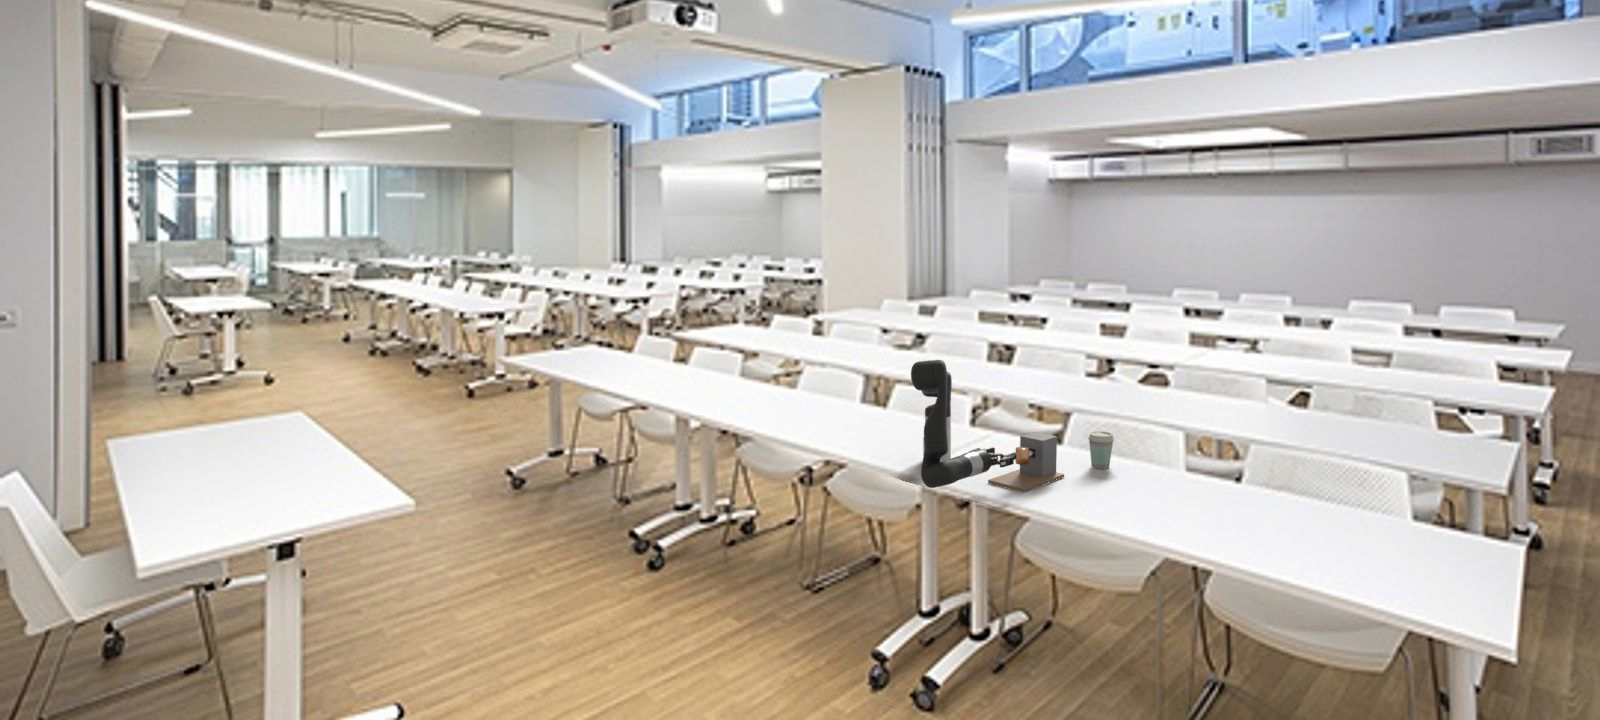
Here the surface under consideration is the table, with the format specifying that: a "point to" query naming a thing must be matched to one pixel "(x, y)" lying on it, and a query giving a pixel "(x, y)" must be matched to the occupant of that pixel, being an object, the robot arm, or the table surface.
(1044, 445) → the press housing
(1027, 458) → the plunger
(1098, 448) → the coffee cup
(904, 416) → the table surface
